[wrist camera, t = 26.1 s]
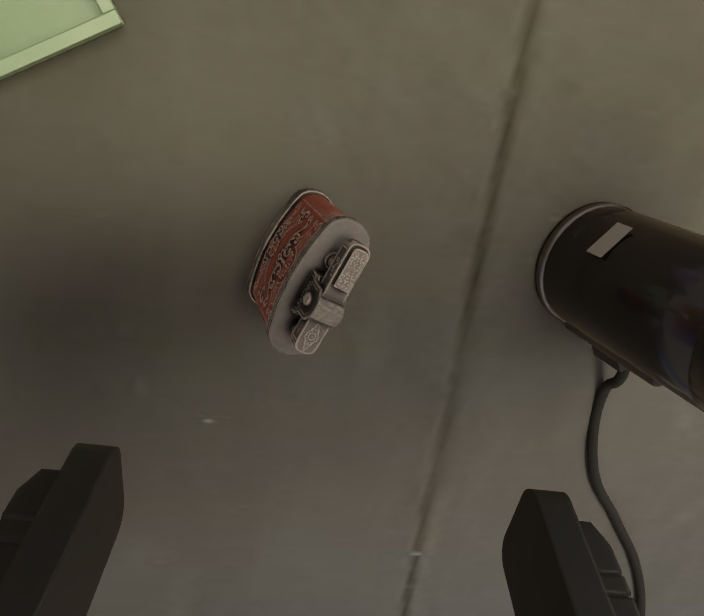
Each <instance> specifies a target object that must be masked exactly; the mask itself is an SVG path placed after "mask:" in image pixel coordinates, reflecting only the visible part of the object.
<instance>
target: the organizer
mask: <svg viewBox="0 0 704 616" xmlns="http://www.w3.org/2000/svg"><path fill="white" fill-rule="evenodd" d="M122 26H124V23H123V21H122V19H121V17H120V15H119V13H118V11H117V9H116V7H115V6H114V4H113V2H112V0H0V81H1V80H3V79H5V78H7V77H10V76H12V75H14V74H16V73H19V72H21V71H23V70H25V69H27V68H30V67H32V66H34V65H36V64H39V63H41V62H43V61H45V60H48V59H50V58H52V57H54V56H57V55H59V54H61V53H63V52H66V51H68V50H70V49H72V48H75V47H77V46H79V45H81V44H84V43H86V42H88V41H90V40H93V39H95V38H97V37H99V36H102V35H104V34H106V33H108V32H111V31H113V30H115V29H117V28H120V27H122Z"/></svg>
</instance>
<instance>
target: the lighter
mask: <svg viewBox="0 0 704 616" xmlns="http://www.w3.org/2000/svg"><path fill="white" fill-rule="evenodd" d="M369 243H370V239H369V234H368V232H367V231H366V229H365V227H364V226H363V225H361V224H360V223H359V222H358V221H356V220H355V219H354V218H352V217H349V216H346V215H344V214H343V213H342V212H341V211H339V210H338V209H337V208H336V207H335V206H333V204H332V202H331V200H330V199H329V198H328V197H327V196H326V195H325V194H323V193H322V192H321V191H320V190H317V189H314V188H303V189H300V190H298V191H297V192H296V193H295V194H294V195H293V196H292V197H291V199H290V200H289V201H288V202H287V204H286V205H285V206H284V207H283V209H282V210H281V211H280V212H279V214H278V215H277V217H276V218H275V220H274V222H273V223H272V225H271V226H270V228H269V230H268V231H267V233H266V234H265V236H264V238H263V241H262V243H261V245H260V247H259V249H258V252H257V254H256V256H255V258H254V261H253V265H252V268H251V271H250V274H249V278H248V281H247V289H248V292H249V295H250V297H251V299H252V300H253V301H254V302H255V303H256V304H257V305H258V307H259V310H260V312H261V314H262V316H263V319H264V321H265V323H266V325H267V329H266V332H267V336H268V338H269V341H270V343H271V345H272V346H273V347H274V348H275V350H277V351H278V352H280V353H282V354H285V355H289V356H294V355H300V354H303V353H304V354H312V353H314V352H315V351H316V350H317V348H318V346H319V345H320V343H321V341H322V339H323V338H324V336H325V334H326V333H327V331H328V330H331V329H332V328H336V327H337V326H338V325H339V324H340V322H341V321H342V319H343V317H344V314H345V311H346V302H347V301H346V300H347V298H348V296H349V294H350V292H351V290H352V288H353V286H354V284H355V282H356V281H357V279H358V277H359V275H360V274H361V272H362V270H363V268H364V267H365V265H366V263H367V262H368V260H369V257H370V251H369Z"/></svg>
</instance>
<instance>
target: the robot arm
mask: <svg viewBox="0 0 704 616" xmlns="http://www.w3.org/2000/svg"><path fill="white" fill-rule="evenodd" d="M536 286H537V291H538V295H539V298H540V300H541V302H542V304H543V305H544V307H545V308H546V309H547V310H548V311H549V312H550V313H551V314H553V315H554V316H556V317H557V318H559V319H561V320H562V321H565V324H566V328H567V329H569V330H570V331H572V332H573V333H575V334H576V335H578V336H579V337H581V338H582V339H584V340H585V341H587V342H588V343H589V344H591V345H592V349H593V353H594V355H595V356H597V357H598V358H600V359H601V360H603V361H604V362H606V363H607V364H609V365H610V366H611V367H613V368H614V369H616V370H617V373H616V375H615V376H614V377H613V378H610V379H607V380H606V381H604V382H603V383H602V384H601V385H600V387H599V390H598V392H597V394H596V397H595V401H594V404H593V408H592V412H591V417H590V423H589V430H588V466H589V473H590V478H591V482H592V485H593V488H594V490H595V492H596V495H597V496H598V498H599V500H600V501H601V503H602V505H603V506H604V508H605V510H606V511H607V513H608V515H609V517H610V519H611V521H612V523H613V525H614V527H615V529H616V531H617V533H618V535H619V537H620V539H621V541H622V543H623V545H624V547H625V549H626V551H627V553H628V556H629V559H630V562H631V565H632V569H633V573H634V577H635V583H636V590H637V606H636V603H635V601H634V599H633V598H631V592H630V589H629V587H628V585H627V583H626V580H625V578H624V577H622V575H621V572H622V571H621V569H620V566H619V564H618V562H617V559H616V557H615V555H614V553H613V550H612V548H611V546H610V544H609V543H608V542H607V541H606V540H605V539H604V537H603V536H602V535H601V534H600V533H599V531H598V530H597V529H596V528H595V527H594V526H593V524H592V523H591V522H583V521H579V520H578V518H577V515H576V513H575V510H574V508H573V505H572V503H571V500H570V498H569V497H568V495H567V494H566V493H564V492H556V491H546V490H536V489H526V490H525V491H524V492H523V494H522V496H521V499H520V501H519V503H518V506H517V508H516V510H515V513H514V515H513V517H512V520H511V522H510V524H509V527H508V529H507V531H506V534H505V536H504V540H503V547H502V561H503V568H504V572H505V576H506V580H507V584H508V588H509V592H510V596H511V600H512V605H513V609H514V613H515V616H645V588H644V580H643V575H642V570H641V566H640V562H639V559H638V556H637V553H636V550H635V548H634V546H633V544H632V542H631V539H630V538H629V536H628V534H627V532H626V530H625V528H624V525H623V523H622V521H621V519H620V517H619V514H618V513H617V511H616V509H615V507H614V505H613V504H612V502H611V500H610V499H609V497H608V495H607V494H606V492H605V490H604V487H603V485H602V482H601V479H600V475H599V468H598V455H597V446H598V431H599V424H600V418H601V414H602V410H603V407H604V404H605V401H606V398H607V396H608V394H609V392H610V390H611V389H613V388H617V387H619V386H620V385H622V384H623V383H624V382H625V380H626V379H627V377H628V375H629V372H630V371H631V372H633V373H634V374H636V375H637V376H639V377H640V378H642V379H643V380H645V381H646V382H648V383H649V384H651V385H653V386H657V387H659V386H665V387H666V388H668V389H669V390H671V391H672V392H674V393H675V394H677V395H679V396H680V397H682V398H683V399H685V400H686V401H688V402H689V403H691V404H692V405H694V406H695V407H697V408H698V409H700V410H701V411H703V412H704V235H701V234H698V233H695V232H692V231H690V230H687V229H684V228H681V227H678V226H675V225H672V224H669V223H666V222H663V221H660V220H657V219H655V218H652V217H648V216H645V215H642V214H639V213H636V212H634V211H632V210H631V209H629V208H627V207H624V206H621V205H618V204H614V203H608V202H601V203H595V204H591V205H588V206H585V207H583V208H581V209H579V210H577V211H575V212H574V213H572V214H571V215H569V216H568V217H567V218H566V219H564V220H563V221H562V222H561V223H560V224H559V225H558V226H557V228H556V229H555V230H554V231H553V233H552V234H551V235H550V237H549V238H548V240H547V242H546V244H545V245H544V247H543V250H542V252H541V255H540V258H539V261H538V265H537V271H536ZM123 509H124V492H123V479H122V466H121V454H120V449H119V448H118V447H114V446H104V445H94V444H84V443H77V444H76V445H75V446H74V447H73V448H72V450H71V452H70V453H69V455H68V457H67V459H66V461H65V463H64V465H63V466H62V468H61V470H50V469H41V470H40V471H39V472H37V473H36V474H35V475H34V476H33V477H31V478H30V479H29V480H28V481H27V482H25V483H24V484H23V485H22V486H21V487H20V488H18V489H17V491H16V492H15V494H14V496H13V497H12V499H11V501H10V502H9V504H8V506H7V507H6V509H5V511H4V512H3V514H2V518H1V520H0V616H86V615H87V612H88V609H89V607H90V604H91V602H92V599H93V597H94V594H95V591H96V589H97V586H98V584H99V581H100V578H101V576H102V573H103V571H104V568H105V566H106V563H107V560H108V558H109V555H110V553H111V550H112V547H113V545H114V542H115V540H116V537H117V534H118V532H119V528H120V525H121V521H122V516H123Z"/></svg>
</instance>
